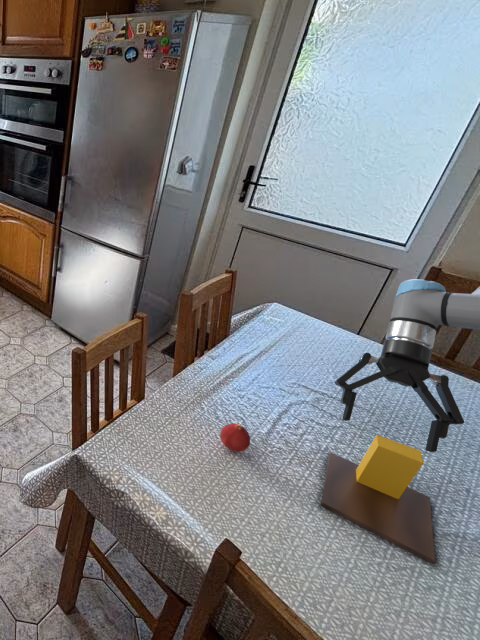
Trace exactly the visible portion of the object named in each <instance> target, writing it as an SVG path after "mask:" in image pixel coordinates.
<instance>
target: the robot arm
mask: <svg viewBox="0 0 480 640" xmlns="http://www.w3.org/2000/svg"><path fill="white" fill-rule="evenodd" d="M393 300H394V301H393V304H392V309H391V314H390V318H389V323H388V326H387V330H386V334H385V340H384V342H383V345H382V350H381V353H380V356H379V358H378V357H377V356H373V355H371V353H369V352H364V353H363V354H361V355H360V357H359V360H358V361H357V362H356V363H355V364H354V365H353V366H351V367H350V368H349V369H348V370H347V371H345V372H344V373H343V374H341V375H340V376H339V377H338V378H337V379H335V380H334V385H336V386H338V387H339V388H340V389H342V394H341V398H340V404H342V405H345V406H344V411H343V414H342V418H341V420H342V421H345V422H348V421H351V417H352V413H353V409H354V405H355V403H356V402H355V401H356V398H357V394H358V392H357V391H356V392H355V391H353V390H355V389H358V388H360V387H362V386H365V385H368V384H370V383H372V382H374V381H377V380H380V379H381V378H384V379H385V380H387V381H388V382H390V383H395V384H398V385H401V386H403V387H406V388H407V387H411V389H412V390H413V391H414V392H415V393H416V394H417V395H418V397H420V399H421V400H422V402H423V403H424V404H425V406H426V407H427V408H428V410H429V411H430V413H431V415H433V417H434V418H435V420H434V419H433V420H431V422H430V427H429V431H428V436H427V441H426V445H425V451H427V452H429V453H437V452H438V447H439V442H440V439H441V440H442V439H443V440H444V439H446V438H447V437H448V432H449V427H450V425H455V426H457V425H463V424H465V419H464V417H463V416H462V413H461V411H460V409H459V407H458V405H457V402H456V399H455V398H454V396H453V394H452V390H451V389H450V385H449V384H450V383H449V382H450V377H449V376H447V375H446V374H441V375H439V374H434V373H430V371H429V367H430V362H431V358H432V353H433V352H432V349H434V345H435V340H436V334H437V331H438V327H439V326H444V327H452V328H459V329H468V330H473V331H480V285H478V287H477V288H476V289H475V290H473V292H471V293H459V292H458V293H457V292H449V291H446V287H445V286H444V285H442V284H441V283H439V282H436V281H432V280H426V279H419V278H415V279H414V278H413V279H407V280H404V281H402V282H401V283H400V284H399V286H398V288H397V291H396V294H395V296H394V298H393ZM373 363H374V364H375V365H376V366H377V369H378V370H379V371H377V372H375V373H373V374H370V375H368V376H365V377H363V378H361V379H358V380H356V381H354V382H352V383H348V382H347V381H348V380H350V379H351V378H352V377H354V376H355V375H356V374H357V373H358V372H360V371H361V370H362V369H363V368H364V367H366V366H368V365H372V364H373ZM428 379H429V380H430V381H431V383H432V384H433V385H434V386H435V390H436V392H437V395H438V398H439V399H440V403H441V404H442V406H443V407H442V406H441V404H440V403H439V401H438V400H437V399H436V398H435V397H434V395H433V394H432V392H431V391H430V390H429V387H428V386H427V384H426V383H425V382H424V381H427V380H428ZM443 408H444V409H443Z"/></svg>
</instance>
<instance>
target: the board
mask: <svg viewBox="0 0 480 640" xmlns="http://www.w3.org/2000/svg"><path fill="white" fill-rule="evenodd" d="M358 465H359V464H357V463H355V462H353V461H351V460H349V459H346V458H345V457H342V456H341V455H337V454H335V453H333V452H329V453H328V458H327V463H326V470H325V475H324V483H323V488H322V489H323V490H322V494H321V495H322V496H321V502H320V506H321V507H323V508H325V509H326V510H329V511H330V512H332V513H334V514H336V515H338V516H340V517H342V518H344V519H346V520H348V521H349V522H351V523H353V524H355V525H357V526H359V527H361V528H363V529H365V530H367V531H368V532H371V533H372V534H374V535H376V536H378V537H381V538H382V539H384V540H386V541H388V542H390V543H392V544H394V545H395V546H397V547H399V548H401V549H404V550H405V551H407V552H408V553H411V554H413V555H414V556H417V557H419V558H420V559H422V560H424V561H426V562H428V563H430V564H434V563H435V562H436V554H435V543H434V531H433V520H432V508H431V497H430V496H429V495H427V494H424V493H422V492H420V491H417V490H415V489H413V488H410V487H408V486H407V488H406V489H405V491H404V492H403V494H402V495H401V497H400V498H399V499H396V498H394V497H392V496H389V495H387V494H385V493H382V492H380V491H378V490H375V489H373V488H371V487H368V486H366V485H363V484H361V483H359V482H357V478H356V469H357V467H358Z"/></svg>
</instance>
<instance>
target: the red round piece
mask: <svg viewBox="0 0 480 640" xmlns="http://www.w3.org/2000/svg"><path fill="white" fill-rule="evenodd" d="M219 438H220V439H221V440H220V441H221V443H222V444H223V445H224V446H225V448H227V449H228V450H229V451H231V452H232V451H233V452H243V451H246V450H247V449H248V448H249V447H250V443H251V437H250V434H249V431H247V429H246V428H245V427H244V426H243V425H241V424H240V423H233V422H232V423H228V424H225V425H224V426H223V427H222V428H221V430H220V434H219Z"/></svg>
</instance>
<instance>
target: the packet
mask: <svg viewBox="0 0 480 640" xmlns="http://www.w3.org/2000/svg"><path fill="white" fill-rule="evenodd" d="M423 464H424V460H423V454H422V451H421V450H420V449H417V448H414V447H412V446H409V445H407V444H404V443H402V442H398V441H396V440H392V439H390V438H387V437H385V436H383V435H379V434H375V436H374V438H373V440H372V442H371V443H370V445H369V447H367V450H366V451H365V453H364V454H363V457H362V459H361V460H360V462H359V464H358V467H357V469H356V478H357V482H359V483H361V484H363V485H366V486H368V487H371V488H373V489H375V490H378V491H380V492H382V493H385V494H387V495H389V496H392V497H394V498H396V499H399V498H400V497H401V495H402V494H403V492H404V491H405V489H406V488H407V487H408V486H409V485H410V483H412V481H413V479H414V478H415V476H416V475H417V474H418V472H419V470H420V469H421V468H422V466H423Z"/></svg>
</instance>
